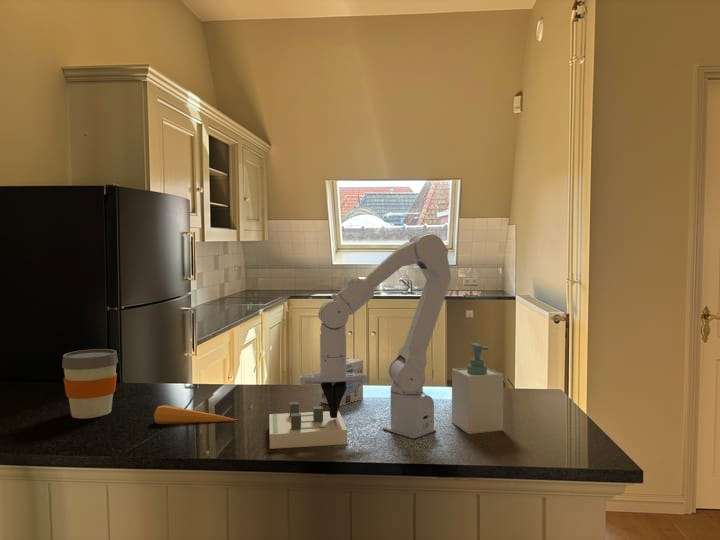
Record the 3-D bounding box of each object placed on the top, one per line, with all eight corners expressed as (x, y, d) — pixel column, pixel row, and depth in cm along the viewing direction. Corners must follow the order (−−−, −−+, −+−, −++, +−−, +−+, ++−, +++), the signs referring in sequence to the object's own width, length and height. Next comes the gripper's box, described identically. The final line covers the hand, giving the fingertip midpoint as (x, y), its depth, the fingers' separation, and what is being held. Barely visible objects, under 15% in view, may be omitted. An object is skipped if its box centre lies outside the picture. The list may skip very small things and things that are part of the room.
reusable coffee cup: (99, 403, 147) (97, 347, 147) (129, 410, 141) (128, 351, 140) (52, 415, 137) (50, 355, 136) (83, 423, 130) (81, 360, 130)
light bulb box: (339, 407, 143) (339, 366, 143) (319, 403, 147) (319, 362, 147) (364, 398, 152) (364, 359, 151) (345, 394, 156) (344, 356, 155)
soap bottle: (468, 434, 122) (468, 348, 121) (451, 422, 130) (451, 341, 129) (503, 431, 124) (504, 346, 123) (484, 419, 132) (485, 339, 132)
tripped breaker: (322, 417, 123) (322, 406, 123) (323, 420, 121) (323, 408, 121) (313, 418, 123) (313, 406, 122) (313, 420, 121) (313, 409, 120)
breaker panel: (338, 423, 130) (338, 398, 129) (347, 444, 116) (347, 415, 116) (269, 427, 127) (269, 401, 127) (269, 448, 113) (269, 419, 113)
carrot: (151, 428, 129) (151, 412, 128) (157, 415, 134) (157, 400, 132) (238, 434, 131) (239, 418, 129) (241, 421, 135) (242, 406, 134)
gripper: (362, 350, 127) (362, 409, 127) (299, 352, 125) (299, 412, 125) (368, 356, 120) (368, 419, 120) (300, 359, 118) (301, 422, 118)
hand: (333, 416), depth 122 cm, fingers closed
